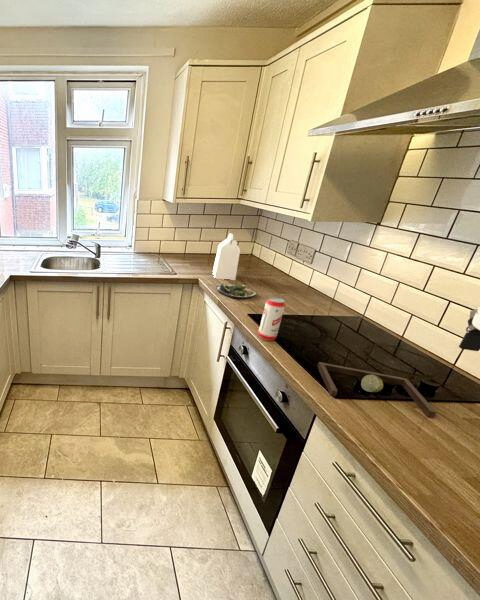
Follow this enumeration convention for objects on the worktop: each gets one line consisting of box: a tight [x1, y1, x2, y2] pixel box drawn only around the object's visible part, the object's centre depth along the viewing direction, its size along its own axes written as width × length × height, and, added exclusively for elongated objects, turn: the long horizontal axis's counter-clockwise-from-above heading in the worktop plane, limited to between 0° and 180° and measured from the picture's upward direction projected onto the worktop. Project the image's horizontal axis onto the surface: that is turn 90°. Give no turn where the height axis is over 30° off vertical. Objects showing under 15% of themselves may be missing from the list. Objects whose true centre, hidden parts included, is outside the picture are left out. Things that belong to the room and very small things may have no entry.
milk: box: [212, 233, 241, 281], centre depth 189 cm, size 12×12×26 cm
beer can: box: [257, 296, 286, 342], centre depth 119 cm, size 6×6×16 cm
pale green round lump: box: [360, 375, 384, 393], centre depth 92 cm, size 4×5×5 cm
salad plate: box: [214, 283, 257, 300], centre depth 167 cm, size 19×18×5 cm
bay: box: [316, 361, 437, 419], centre depth 93 cm, size 22×16×2 cm
